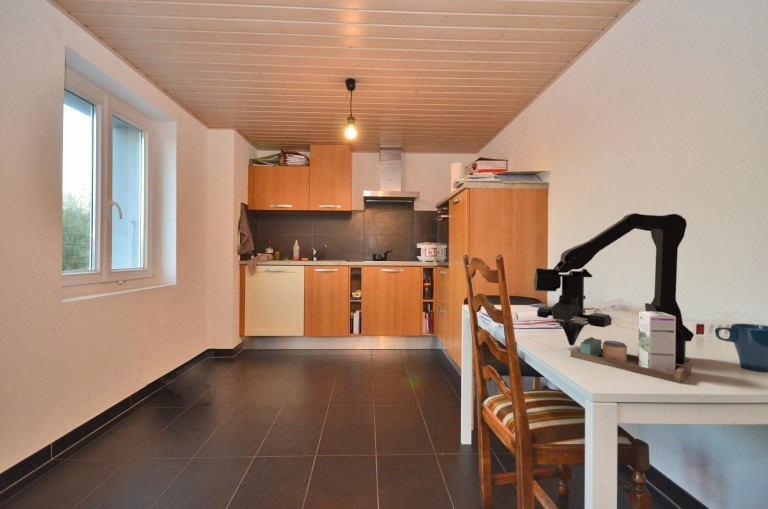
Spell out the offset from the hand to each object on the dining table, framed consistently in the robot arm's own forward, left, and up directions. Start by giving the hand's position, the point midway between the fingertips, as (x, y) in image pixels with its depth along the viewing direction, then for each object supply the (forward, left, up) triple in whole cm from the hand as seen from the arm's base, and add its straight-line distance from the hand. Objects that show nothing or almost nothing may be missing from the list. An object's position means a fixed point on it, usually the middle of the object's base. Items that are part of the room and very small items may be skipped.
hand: (571, 345), depth 103 cm
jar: (0, +11, -2) cm, 11 cm away
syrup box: (0, +20, -2) cm, 20 cm away
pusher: (0, +5, -2) cm, 6 cm away
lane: (0, +13, -2) cm, 14 cm away
